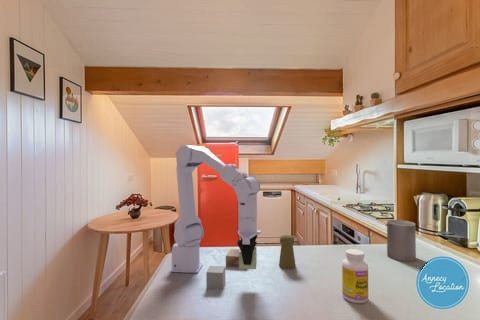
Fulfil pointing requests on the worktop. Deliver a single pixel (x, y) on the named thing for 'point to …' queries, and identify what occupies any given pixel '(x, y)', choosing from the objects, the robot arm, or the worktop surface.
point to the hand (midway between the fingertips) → (248, 260)
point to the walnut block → (232, 258)
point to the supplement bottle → (355, 277)
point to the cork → (287, 252)
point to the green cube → (253, 263)
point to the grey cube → (215, 277)
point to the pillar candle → (401, 240)
